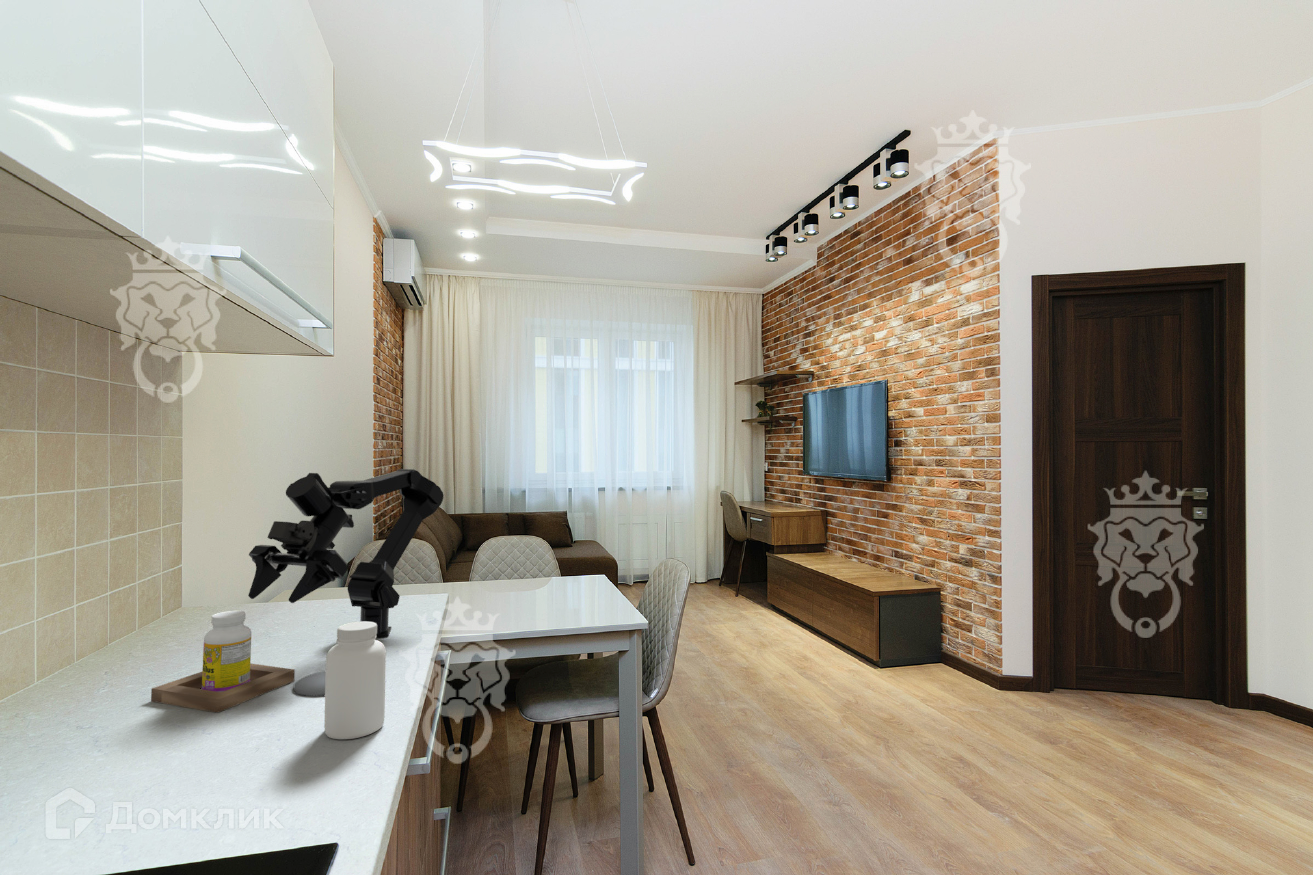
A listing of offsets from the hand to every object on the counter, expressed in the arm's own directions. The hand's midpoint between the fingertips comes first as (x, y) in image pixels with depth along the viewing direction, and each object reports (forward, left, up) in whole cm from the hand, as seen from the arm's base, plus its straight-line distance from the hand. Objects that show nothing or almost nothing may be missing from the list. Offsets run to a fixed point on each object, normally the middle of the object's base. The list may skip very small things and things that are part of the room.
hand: (270, 599), depth 111 cm
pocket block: (+7, -4, -13) cm, 16 cm away
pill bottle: (+28, +19, -14) cm, 36 cm away
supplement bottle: (+7, -4, -14) cm, 16 cm away
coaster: (+8, +12, -13) cm, 19 cm away
